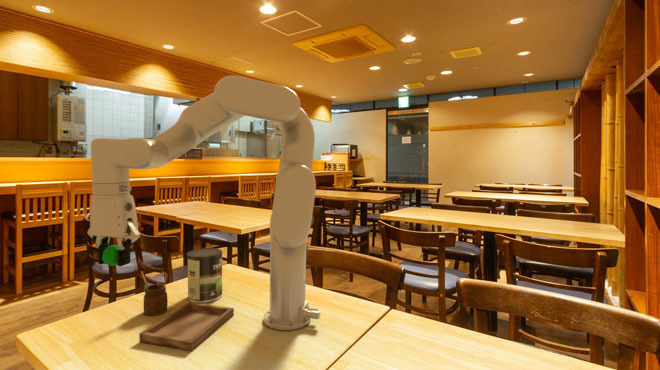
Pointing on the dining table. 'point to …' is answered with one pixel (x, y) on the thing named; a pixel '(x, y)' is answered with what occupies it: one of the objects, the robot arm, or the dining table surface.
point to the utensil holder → (155, 298)
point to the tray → (187, 326)
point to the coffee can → (204, 275)
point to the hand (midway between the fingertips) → (114, 262)
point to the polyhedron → (110, 255)
